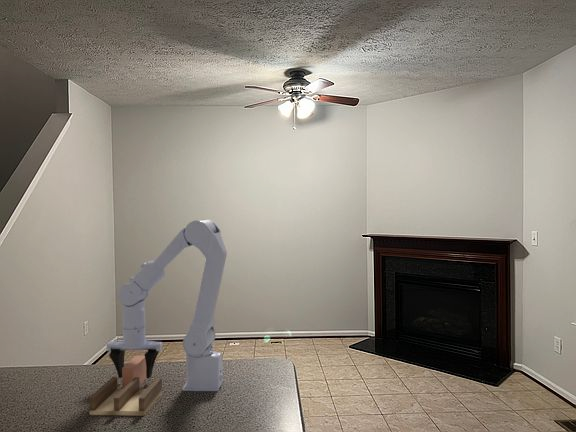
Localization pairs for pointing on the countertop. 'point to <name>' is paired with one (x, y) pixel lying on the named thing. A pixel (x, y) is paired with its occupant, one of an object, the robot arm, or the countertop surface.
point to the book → (134, 370)
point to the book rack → (124, 398)
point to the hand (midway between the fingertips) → (135, 376)
